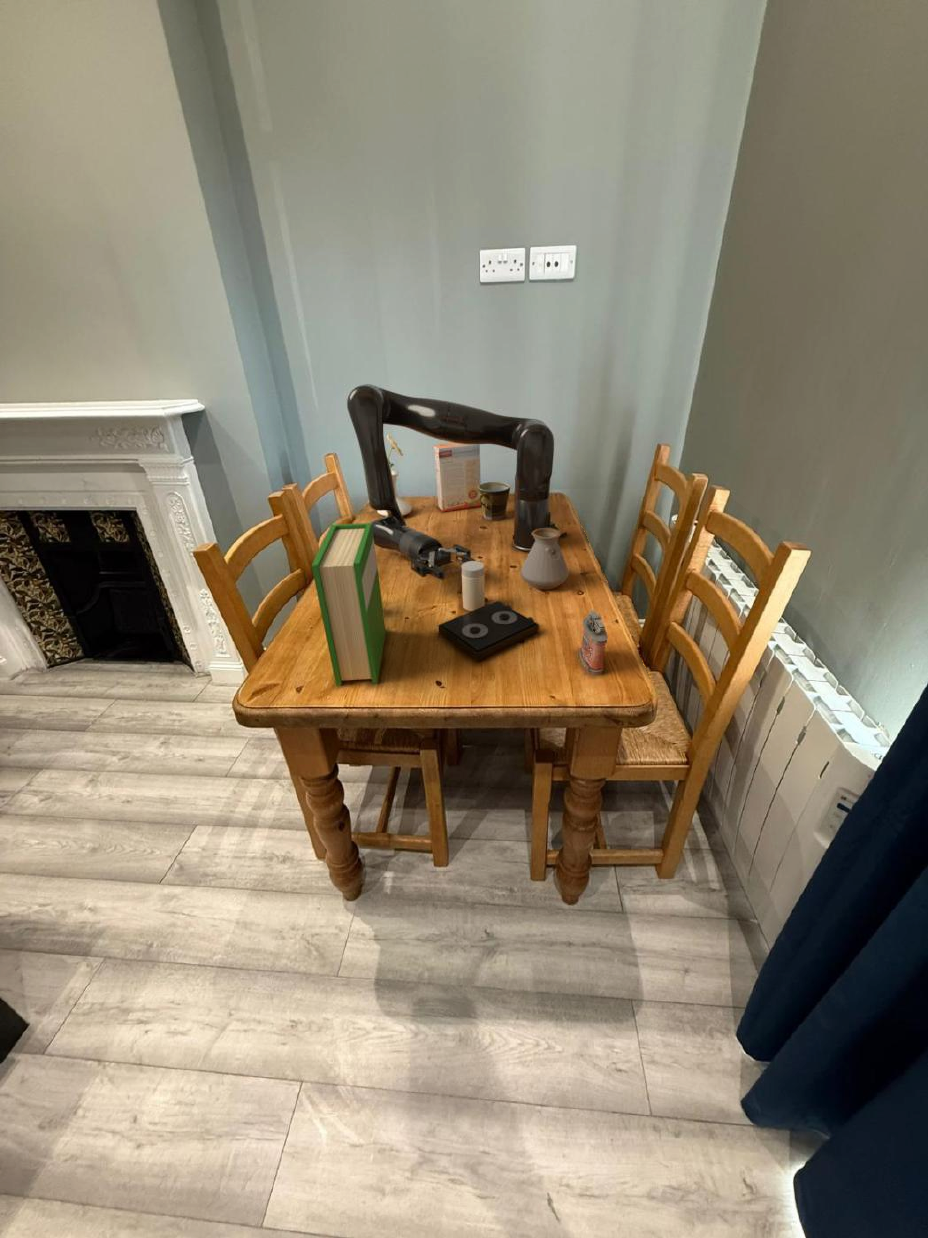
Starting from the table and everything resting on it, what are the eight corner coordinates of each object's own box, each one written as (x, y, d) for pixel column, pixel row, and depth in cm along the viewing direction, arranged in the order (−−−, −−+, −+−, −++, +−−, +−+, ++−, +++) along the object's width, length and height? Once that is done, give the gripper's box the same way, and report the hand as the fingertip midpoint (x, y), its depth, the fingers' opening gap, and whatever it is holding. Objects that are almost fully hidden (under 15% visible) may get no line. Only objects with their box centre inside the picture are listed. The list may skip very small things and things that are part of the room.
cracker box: (475, 501, 177) (474, 439, 166) (481, 506, 172) (480, 443, 161) (437, 506, 173) (433, 443, 162) (442, 512, 168) (438, 447, 157)
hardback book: (377, 683, 91) (359, 563, 79) (336, 685, 91) (311, 565, 78) (385, 631, 106) (371, 522, 94) (350, 632, 106) (331, 524, 94)
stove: (500, 607, 113) (500, 596, 112) (541, 631, 104) (542, 619, 103) (438, 634, 105) (437, 622, 103) (477, 662, 96) (477, 650, 94)
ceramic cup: (489, 509, 169) (489, 480, 164) (515, 515, 164) (516, 484, 158) (467, 521, 160) (466, 490, 155) (493, 527, 155) (493, 495, 150)
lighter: (576, 650, 98) (580, 606, 93) (593, 649, 98) (598, 604, 93) (588, 675, 91) (594, 629, 86) (606, 674, 91) (613, 627, 86)
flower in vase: (410, 520, 163) (403, 439, 150) (375, 520, 163) (365, 440, 150) (414, 506, 174) (407, 430, 161) (381, 507, 174) (372, 431, 161)
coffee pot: (519, 571, 128) (520, 515, 120) (564, 571, 127) (569, 514, 120) (523, 615, 110) (525, 552, 102) (576, 615, 109) (583, 551, 101)
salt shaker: (475, 598, 117) (474, 558, 112) (489, 606, 114) (489, 566, 109) (458, 605, 115) (456, 565, 110) (471, 613, 111) (470, 573, 106)
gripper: (394, 542, 120) (432, 564, 109) (442, 527, 127) (483, 546, 116) (397, 570, 124) (434, 594, 113) (444, 554, 131) (483, 575, 120)
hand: (459, 570), depth 114 cm, fingers open, 8 cm apart
